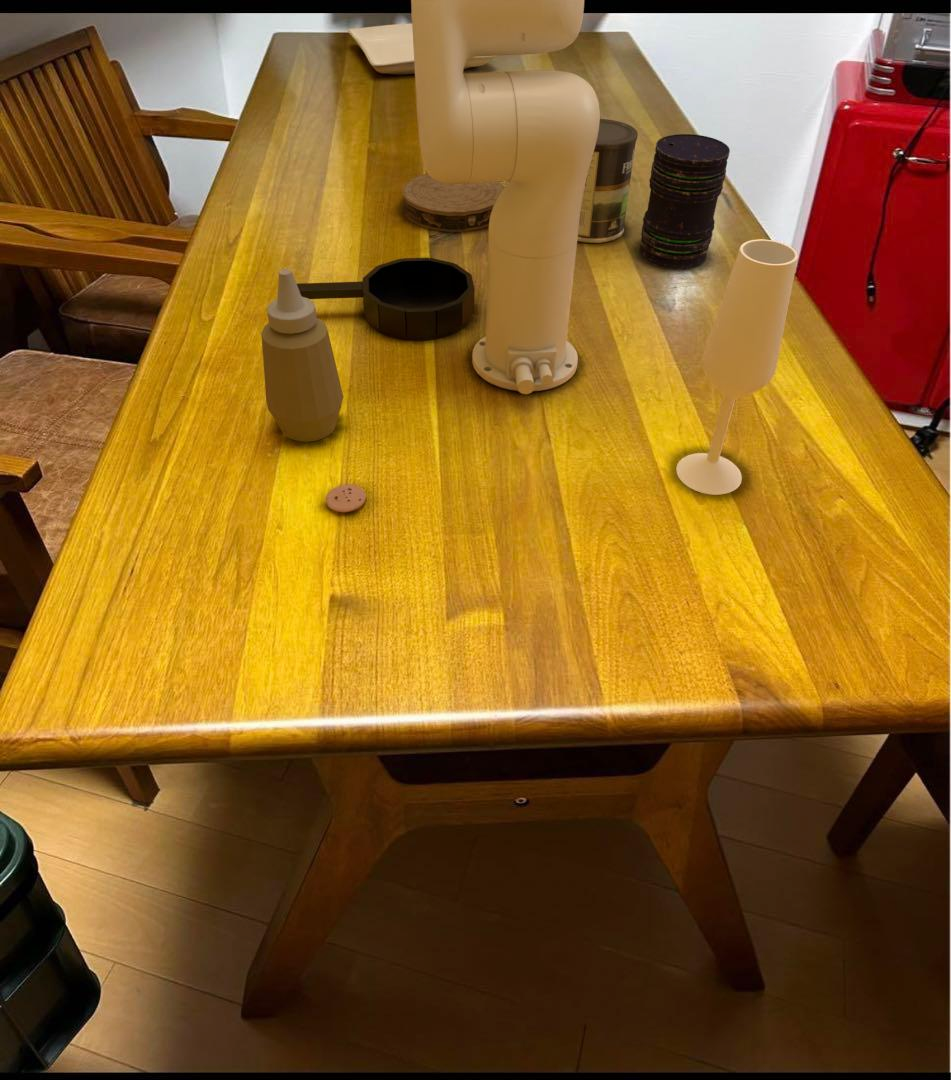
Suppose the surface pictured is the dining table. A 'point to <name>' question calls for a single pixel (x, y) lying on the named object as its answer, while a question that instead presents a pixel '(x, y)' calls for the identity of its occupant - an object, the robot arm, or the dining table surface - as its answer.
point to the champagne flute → (742, 350)
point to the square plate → (395, 48)
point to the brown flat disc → (449, 204)
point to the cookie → (345, 498)
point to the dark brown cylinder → (683, 200)
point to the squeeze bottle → (299, 366)
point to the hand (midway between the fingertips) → (447, 65)
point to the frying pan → (408, 297)
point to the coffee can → (607, 183)
